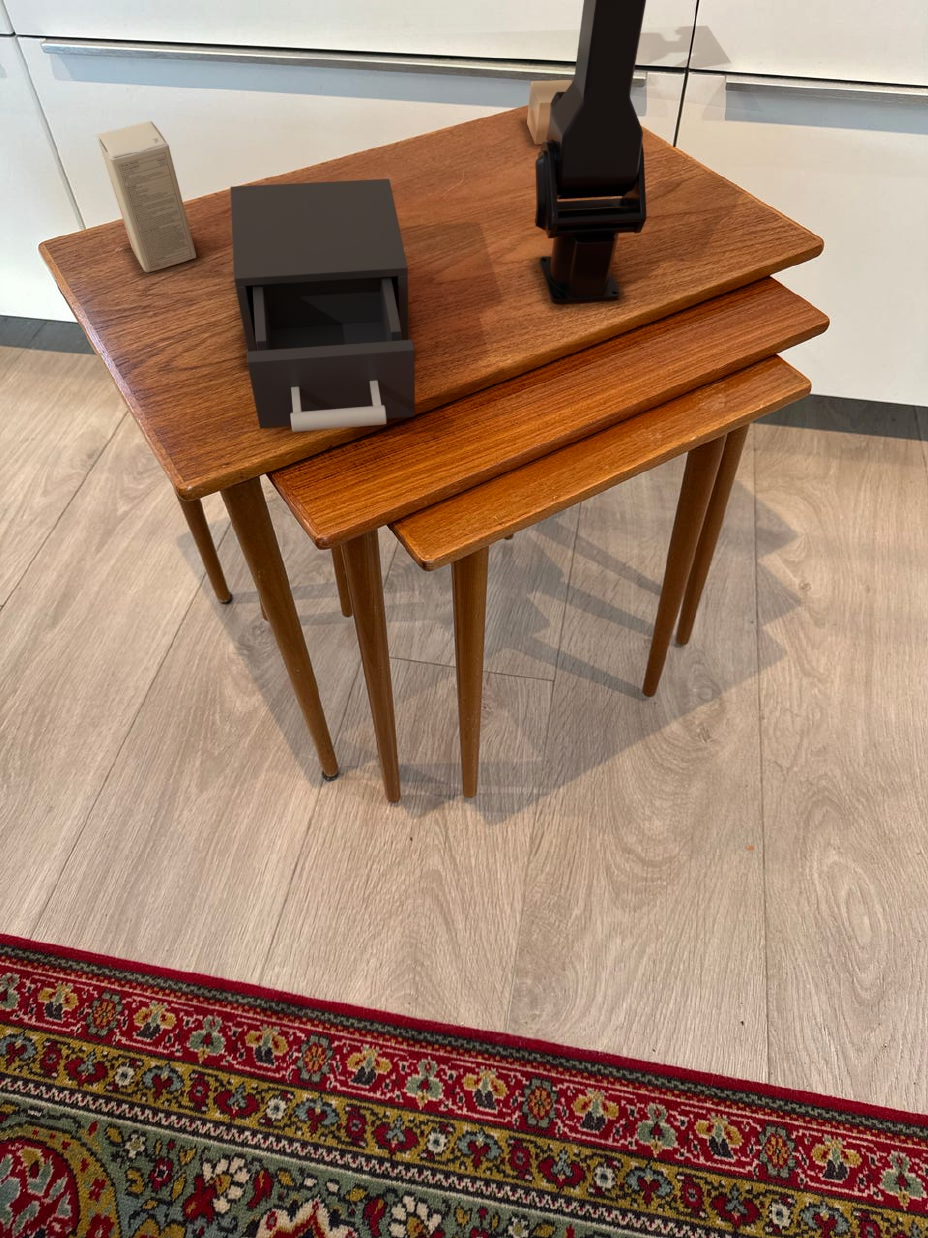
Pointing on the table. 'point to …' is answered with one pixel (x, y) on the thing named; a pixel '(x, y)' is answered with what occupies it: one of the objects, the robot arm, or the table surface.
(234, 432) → the table surface
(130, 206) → the box
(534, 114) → the block
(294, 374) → the drawer
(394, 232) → the cabinet
